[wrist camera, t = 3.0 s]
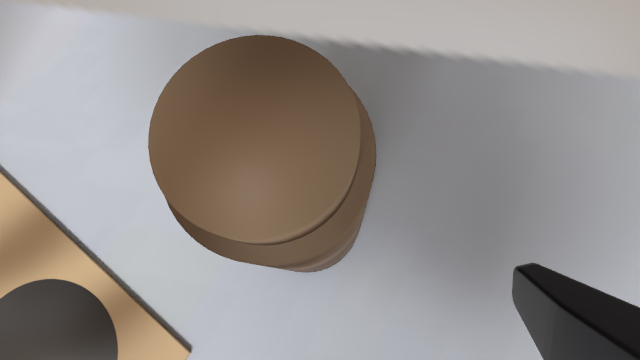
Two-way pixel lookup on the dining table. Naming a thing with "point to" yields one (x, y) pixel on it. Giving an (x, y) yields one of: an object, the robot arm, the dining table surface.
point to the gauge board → (65, 296)
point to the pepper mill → (264, 153)
